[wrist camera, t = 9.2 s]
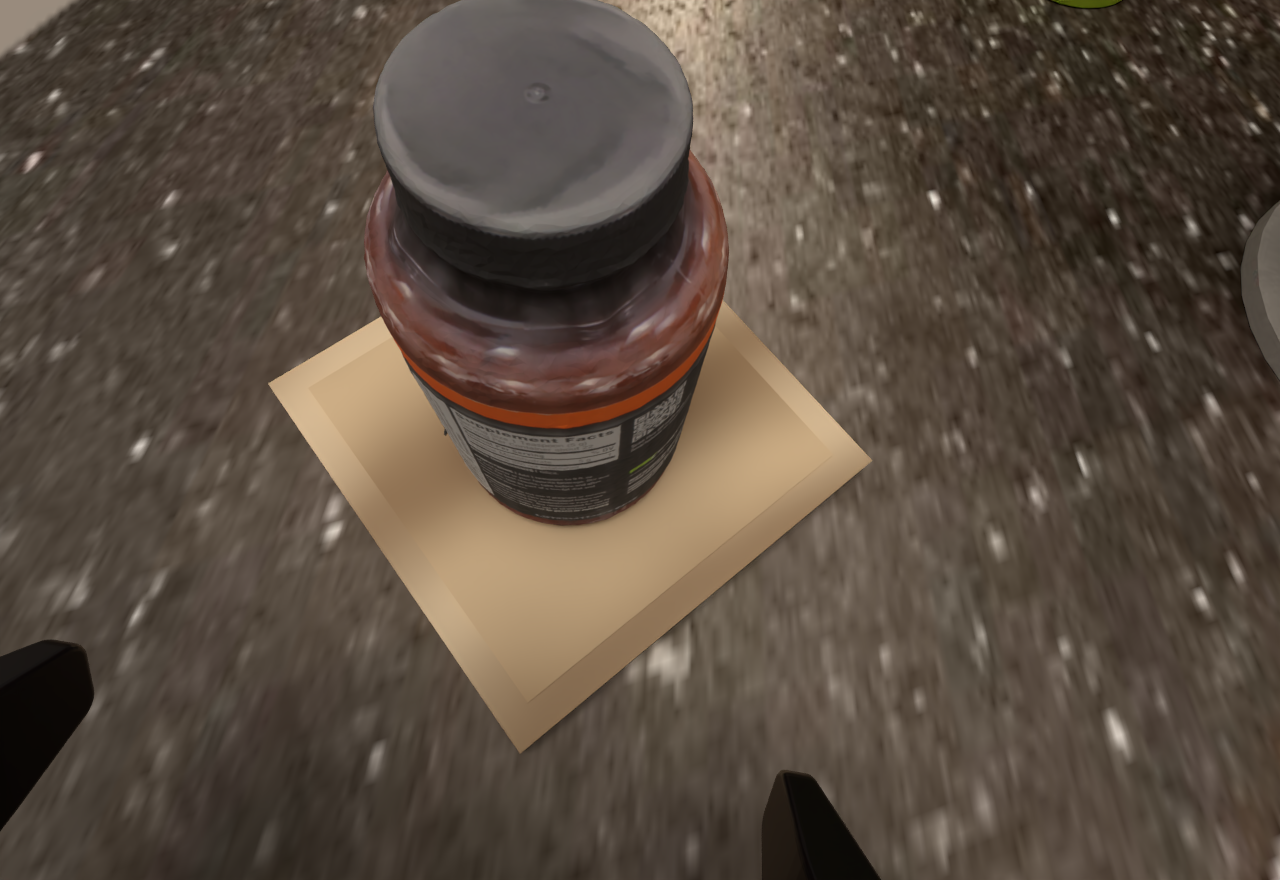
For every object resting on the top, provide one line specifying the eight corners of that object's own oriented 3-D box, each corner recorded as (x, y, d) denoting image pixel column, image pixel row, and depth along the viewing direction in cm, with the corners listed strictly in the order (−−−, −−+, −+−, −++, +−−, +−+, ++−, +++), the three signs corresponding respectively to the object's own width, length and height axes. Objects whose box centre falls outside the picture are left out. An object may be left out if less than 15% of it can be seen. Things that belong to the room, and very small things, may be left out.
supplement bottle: (511, 306, 20) (420, -122, 10) (703, 370, 20) (827, -2, 9) (423, 489, 18) (184, 197, 8) (636, 565, 18) (698, 368, 7)
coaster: (859, 471, 20) (873, 459, 19) (524, 750, 17) (519, 754, 16) (610, 201, 23) (611, 178, 22) (283, 398, 20) (266, 382, 19)
